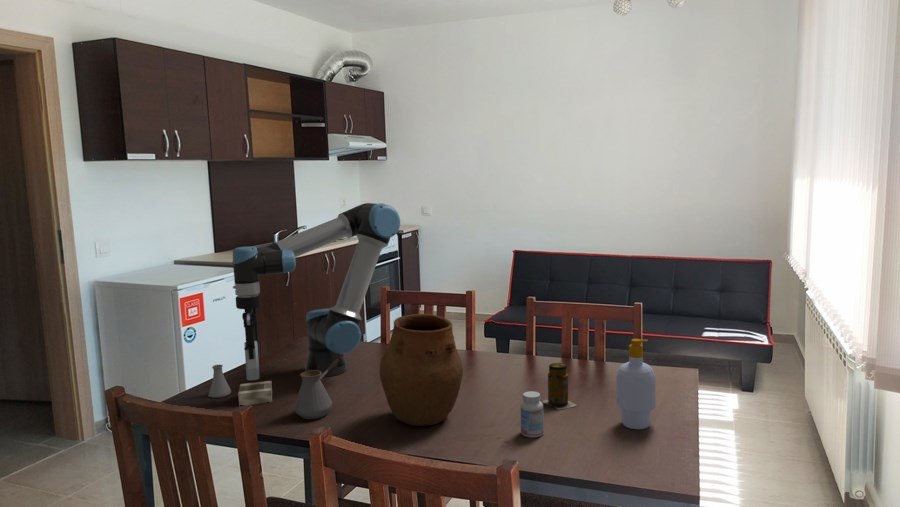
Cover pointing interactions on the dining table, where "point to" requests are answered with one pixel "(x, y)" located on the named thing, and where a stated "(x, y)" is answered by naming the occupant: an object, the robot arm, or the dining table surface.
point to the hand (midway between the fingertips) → (252, 366)
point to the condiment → (558, 387)
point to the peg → (254, 373)
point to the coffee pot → (314, 394)
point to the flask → (219, 383)
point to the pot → (421, 369)
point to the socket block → (255, 393)
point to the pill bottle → (532, 415)
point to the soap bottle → (636, 388)
